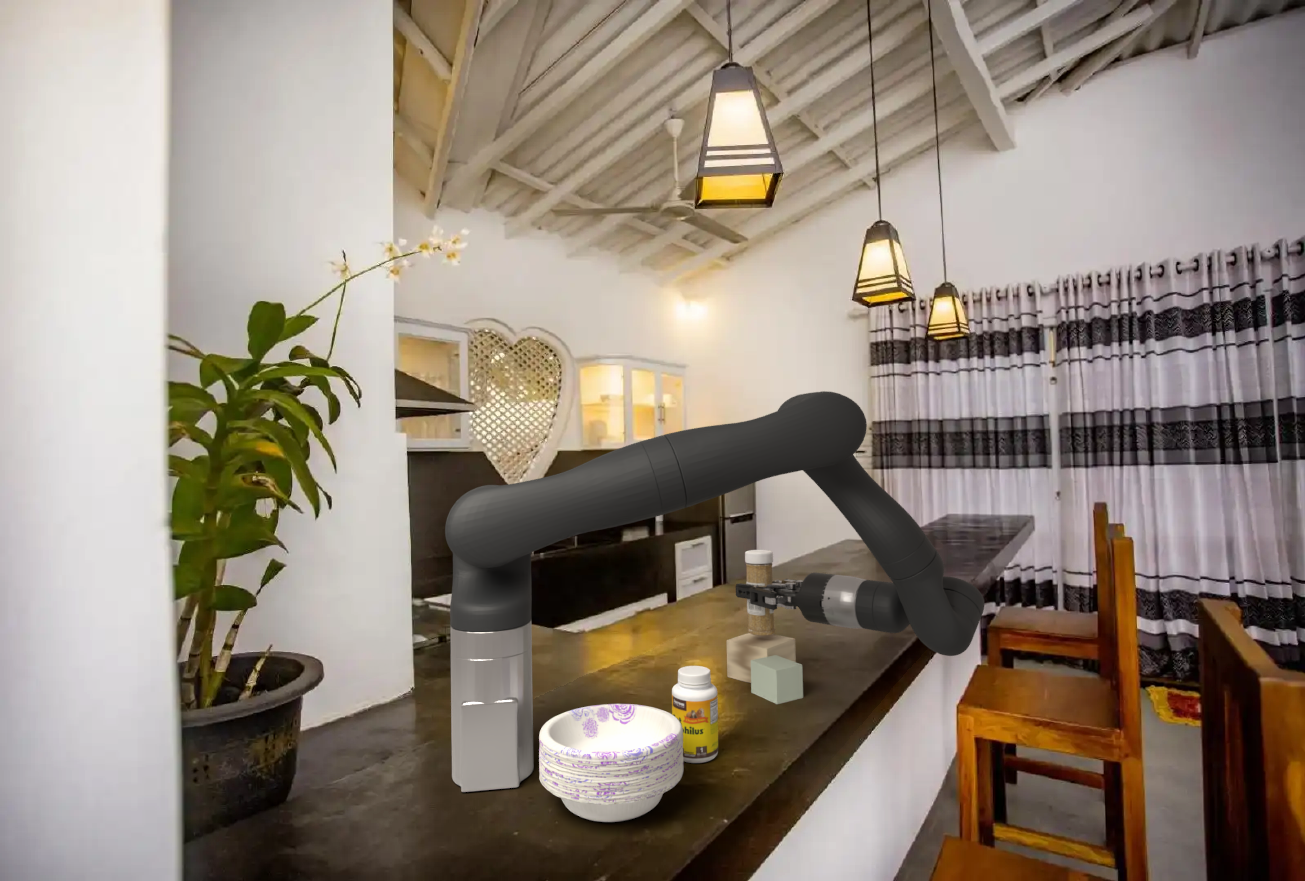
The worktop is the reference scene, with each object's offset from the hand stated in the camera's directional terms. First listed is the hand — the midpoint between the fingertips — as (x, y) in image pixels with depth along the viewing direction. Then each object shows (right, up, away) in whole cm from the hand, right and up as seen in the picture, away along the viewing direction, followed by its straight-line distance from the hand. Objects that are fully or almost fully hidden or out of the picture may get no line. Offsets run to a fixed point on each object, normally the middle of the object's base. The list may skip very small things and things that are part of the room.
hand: (746, 587), depth 114 cm
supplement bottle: (-10, -14, -31) cm, 36 cm away
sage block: (+5, -11, -14) cm, 18 cm away
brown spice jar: (+2, -7, -2) cm, 8 cm away
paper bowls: (-20, -14, -42) cm, 49 cm away
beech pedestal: (+2, -14, -2) cm, 14 cm away
